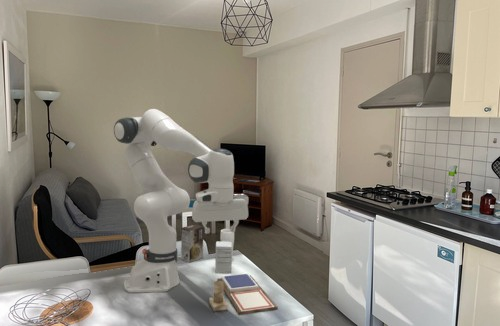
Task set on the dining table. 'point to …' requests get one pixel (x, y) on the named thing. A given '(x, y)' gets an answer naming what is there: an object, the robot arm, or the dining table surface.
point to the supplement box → (223, 257)
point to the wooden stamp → (218, 298)
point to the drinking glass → (227, 236)
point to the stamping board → (247, 291)
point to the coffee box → (192, 243)
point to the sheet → (251, 300)
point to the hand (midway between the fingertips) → (220, 232)
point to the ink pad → (239, 282)
